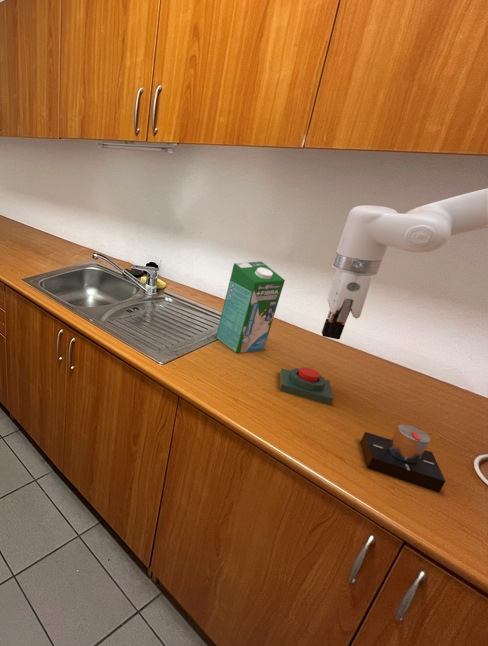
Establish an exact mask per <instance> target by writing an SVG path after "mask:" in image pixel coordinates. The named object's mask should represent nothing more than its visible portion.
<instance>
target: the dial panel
mask: <svg viewBox="0 0 488 646" xmlns="http://www.w3.org/2000/svg"><path fill="white" fill-rule="evenodd" d="M391 440H392V438H391V439H390V438H387V437H384V436H380V435H377V434H375V433H370V432H368V431H365V432H364V433H363V436H362V437H361V440H360V442H359V443H360V447H361V451H362V454H363V458H364V463H365V465H366V468H367V469H369V470H371V471H374V472H377V473H379V474H383V475H386V476H389V477H392V478H395V479H398V480H401V481H404V482H407V483H410V484H413V485H416V486H419V487H422V488H424V489H426V490H430V491H433V492H436V493H440V491H441V490H442V488H443V486H444V485H445V483H446V479H445V477H444V475H443V473H442V469H441V468H440V466H439V464H438V462H437V460H436V458H435V455H434V453H433V451H430V450H427V449H425V451H424V453H423V454H422V456H421V458H420V460H419V462H418V463H415V464H412V463H407V462H404V461H401V460H399V459H397V458H396V457H394V456H393V455H391V454H390V453H389V451H388V449H387V448H388V446H389V444H390V442H391Z"/></svg>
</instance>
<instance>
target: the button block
mask: <svg viewBox="0 0 488 646" xmlns="http://www.w3.org/2000/svg"><path fill="white" fill-rule="evenodd" d="M300 368H301V367H298V368H297V367H295V368H293V369H291V370H290V369H286V368H282V367H281V369H280V372H279V375H278V377H279V392H283V393H287V394H290V395H293V396H295V397H300V398H302V399H303V398H304V399H307V400H310V401H314V402H317V403H321V404H324V405H328V406H331V405H332V403H333V400H334V396H333V391H332V387H331V382H330V381H331V380H328V379H325V378H324V377H323V376H322V375H321V374H320V376H319V379H318V381H317V382H309V381H306V380H304V379H302V378H300V377H299V376H298V373H299V370H300Z"/></svg>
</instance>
